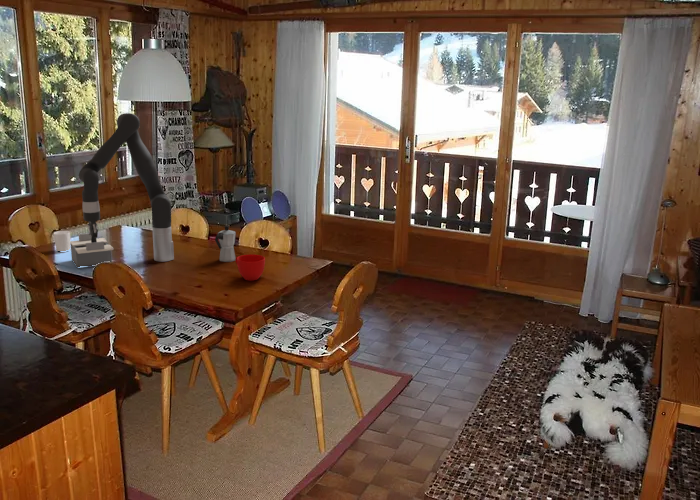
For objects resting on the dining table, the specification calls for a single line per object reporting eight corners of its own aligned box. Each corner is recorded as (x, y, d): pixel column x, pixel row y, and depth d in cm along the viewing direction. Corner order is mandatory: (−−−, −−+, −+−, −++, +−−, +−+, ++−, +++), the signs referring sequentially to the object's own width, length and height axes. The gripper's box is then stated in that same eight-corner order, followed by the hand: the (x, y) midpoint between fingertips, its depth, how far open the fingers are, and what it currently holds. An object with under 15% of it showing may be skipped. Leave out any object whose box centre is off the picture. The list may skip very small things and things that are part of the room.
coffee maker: (229, 255, 349) (228, 222, 344) (242, 258, 344) (241, 224, 339) (209, 262, 336) (208, 227, 331) (222, 264, 332) (221, 230, 327)
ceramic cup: (246, 270, 323) (246, 251, 321) (270, 278, 313) (270, 258, 310) (226, 276, 314) (225, 256, 311) (250, 284, 303) (250, 263, 301)
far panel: (103, 239, 338) (103, 231, 337) (107, 242, 332) (106, 234, 331) (70, 242, 330) (69, 234, 329) (73, 246, 324) (72, 238, 323)
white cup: (60, 253, 343) (58, 235, 341) (52, 251, 348) (50, 232, 345) (74, 250, 349) (73, 232, 347) (66, 248, 354) (64, 229, 351)
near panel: (109, 246, 326) (109, 237, 325) (113, 249, 320) (112, 241, 319) (75, 249, 318) (74, 241, 317) (78, 253, 312) (77, 245, 311)
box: (105, 256, 341) (103, 239, 338) (111, 264, 328) (110, 246, 325) (71, 260, 333) (70, 242, 330) (77, 268, 320) (75, 250, 317)
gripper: (102, 212, 311) (105, 248, 315) (97, 207, 321) (99, 241, 326) (85, 213, 307) (88, 249, 311) (80, 208, 318) (83, 243, 322)
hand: (94, 245), depth 319 cm, fingers closed
